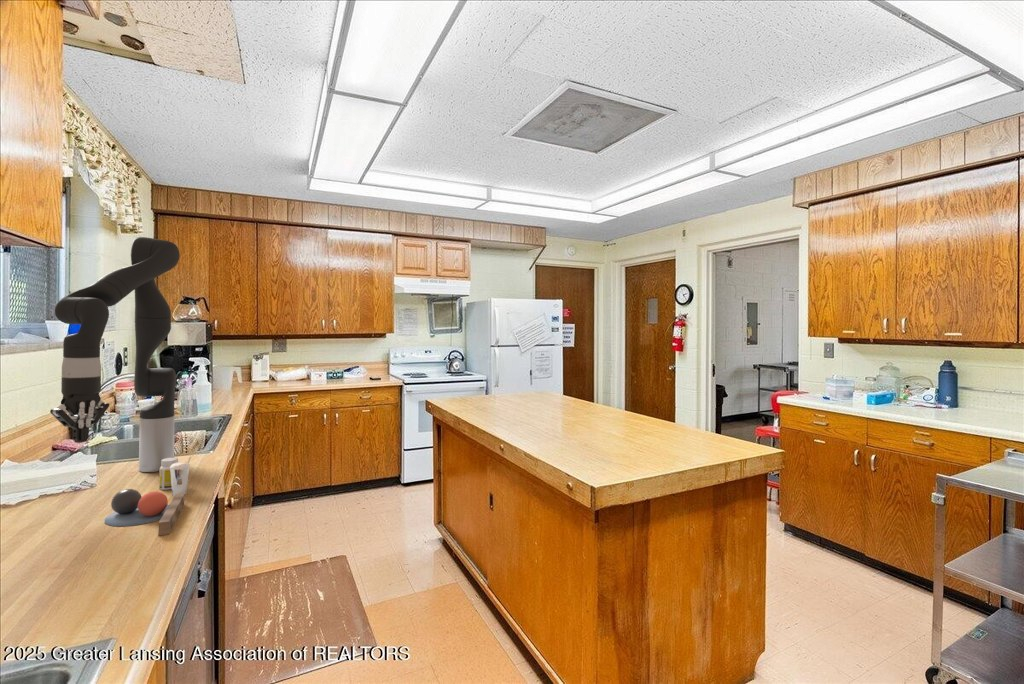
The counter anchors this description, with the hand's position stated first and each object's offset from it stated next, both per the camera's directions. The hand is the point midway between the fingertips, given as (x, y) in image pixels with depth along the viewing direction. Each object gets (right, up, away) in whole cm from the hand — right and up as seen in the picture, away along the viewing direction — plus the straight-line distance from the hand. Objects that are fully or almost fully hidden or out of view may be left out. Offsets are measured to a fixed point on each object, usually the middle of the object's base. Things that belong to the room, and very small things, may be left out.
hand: (80, 441), depth 122 cm
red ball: (+21, -15, -3) cm, 26 cm away
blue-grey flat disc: (+18, -18, -3) cm, 25 cm away
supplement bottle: (+11, -17, +17) cm, 26 cm away
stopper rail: (+27, -18, -5) cm, 33 cm away
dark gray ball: (+14, -15, -2) cm, 20 cm away
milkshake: (+17, -18, +12) cm, 27 cm away
